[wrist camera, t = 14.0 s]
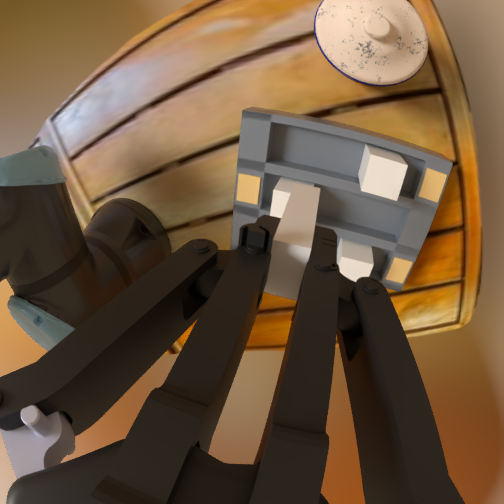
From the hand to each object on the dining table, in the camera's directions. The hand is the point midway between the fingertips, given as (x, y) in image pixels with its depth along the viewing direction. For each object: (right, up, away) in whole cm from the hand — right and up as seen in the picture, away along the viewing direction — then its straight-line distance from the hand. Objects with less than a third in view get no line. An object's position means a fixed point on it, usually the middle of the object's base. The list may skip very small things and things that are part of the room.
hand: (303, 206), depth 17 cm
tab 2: (+9, -2, +17) cm, 20 cm away
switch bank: (+7, +4, +16) cm, 18 cm away
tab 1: (+2, +4, +15) cm, 16 cm away
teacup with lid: (+8, +20, +5) cm, 22 cm away
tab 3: (+10, +7, +11) cm, 16 cm away
